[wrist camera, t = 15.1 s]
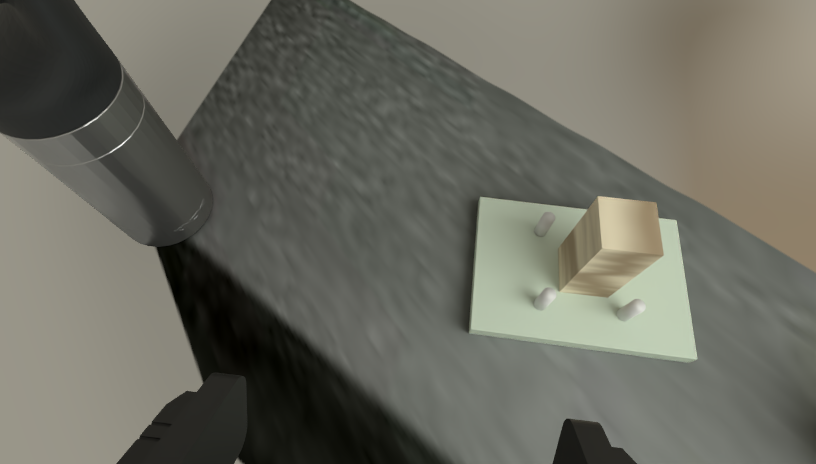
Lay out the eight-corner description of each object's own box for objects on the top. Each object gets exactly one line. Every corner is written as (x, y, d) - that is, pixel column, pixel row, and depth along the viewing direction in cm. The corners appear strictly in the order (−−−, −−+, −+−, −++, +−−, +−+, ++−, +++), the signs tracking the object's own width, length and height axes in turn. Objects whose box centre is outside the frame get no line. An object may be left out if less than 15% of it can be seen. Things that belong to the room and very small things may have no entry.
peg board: (468, 333, 42) (475, 320, 38) (478, 204, 48) (484, 181, 44) (687, 362, 41) (719, 352, 37) (668, 226, 47) (693, 205, 43)
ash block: (559, 291, 42) (601, 248, 33) (558, 248, 44) (597, 196, 35) (607, 297, 42) (663, 255, 33) (604, 253, 44) (656, 202, 35)
